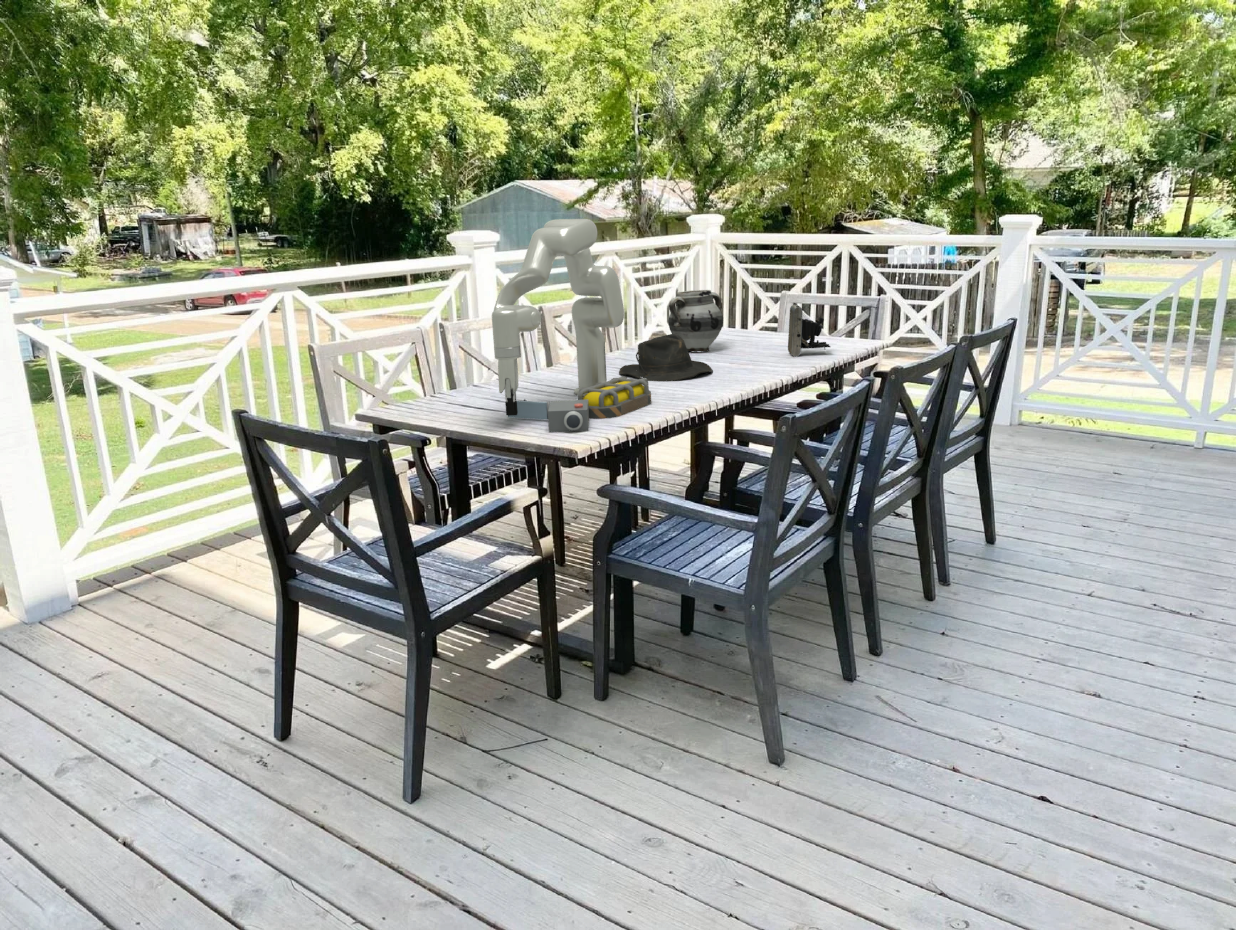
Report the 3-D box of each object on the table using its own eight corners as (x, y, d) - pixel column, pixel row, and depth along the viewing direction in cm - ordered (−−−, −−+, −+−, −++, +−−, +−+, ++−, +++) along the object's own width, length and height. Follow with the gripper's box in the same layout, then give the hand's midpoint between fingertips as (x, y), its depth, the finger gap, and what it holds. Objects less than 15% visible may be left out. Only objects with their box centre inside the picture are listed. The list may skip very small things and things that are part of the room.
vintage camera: (830, 357, 363) (833, 305, 358) (791, 357, 364) (793, 305, 358) (825, 353, 373) (828, 303, 368) (787, 353, 373) (789, 303, 368)
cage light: (566, 390, 277) (620, 373, 301) (567, 416, 279) (621, 397, 303) (606, 394, 269) (659, 376, 294) (608, 421, 272) (659, 401, 296)
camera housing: (552, 420, 274) (550, 398, 272) (589, 419, 274) (588, 396, 272) (548, 433, 259) (547, 409, 257) (588, 432, 259) (587, 408, 257)
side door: (551, 419, 274) (550, 401, 273) (550, 420, 273) (548, 402, 272) (509, 417, 280) (508, 399, 278) (507, 418, 279) (506, 400, 277)
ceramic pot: (689, 358, 370) (688, 295, 363) (652, 352, 388) (650, 292, 381) (740, 349, 387) (739, 288, 381) (702, 344, 405) (701, 286, 398)
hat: (668, 386, 320) (667, 344, 316) (602, 374, 346) (601, 336, 342) (731, 372, 340) (731, 333, 336) (664, 362, 366) (663, 326, 362)
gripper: (497, 349, 273) (502, 409, 278) (491, 357, 259) (496, 421, 264) (523, 348, 273) (527, 408, 278) (518, 356, 259) (522, 420, 264)
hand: (512, 414), depth 271 cm, fingers closed
